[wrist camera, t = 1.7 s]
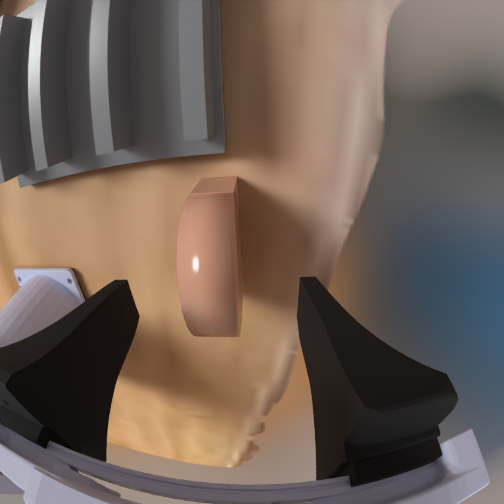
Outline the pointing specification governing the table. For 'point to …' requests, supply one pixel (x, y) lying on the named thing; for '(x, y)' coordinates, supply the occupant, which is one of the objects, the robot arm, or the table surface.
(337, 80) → the table surface
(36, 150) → the dish rack
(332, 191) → the table surface
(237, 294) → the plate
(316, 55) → the table surface
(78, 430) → the robot arm
